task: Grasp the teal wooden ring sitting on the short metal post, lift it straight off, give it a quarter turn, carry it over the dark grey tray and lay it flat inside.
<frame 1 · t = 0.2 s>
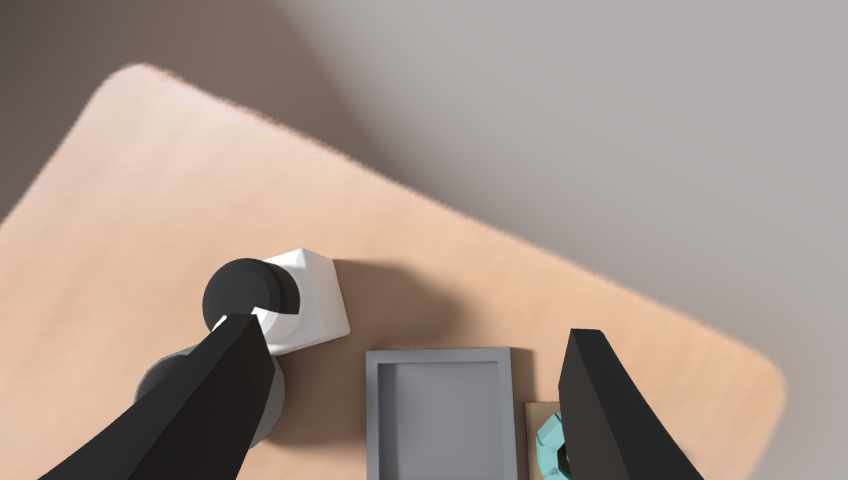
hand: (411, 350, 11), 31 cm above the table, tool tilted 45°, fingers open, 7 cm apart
tray: (441, 421, 40), on the table
medicine bottle: (306, 306, 44), on the table
cup: (253, 386, 43), on the table
ring: (572, 448, 38), point 1 cm above the table, touching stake
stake: (571, 446, 39), on the table
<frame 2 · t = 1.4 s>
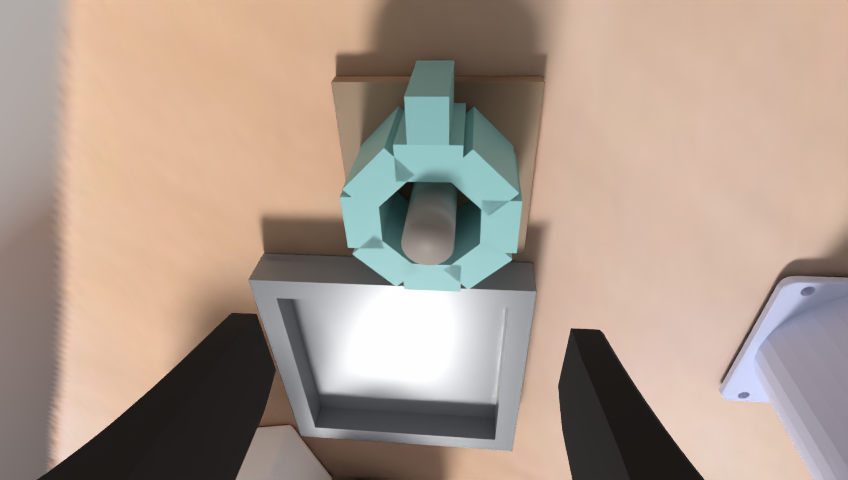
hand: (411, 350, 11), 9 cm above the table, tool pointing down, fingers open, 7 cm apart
tray: (402, 347, 25), on the table
medicine bottle: (269, 452, 33), on the table
ring: (437, 176, 18), point 1 cm above the table, touching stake
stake: (438, 168, 18), on the table
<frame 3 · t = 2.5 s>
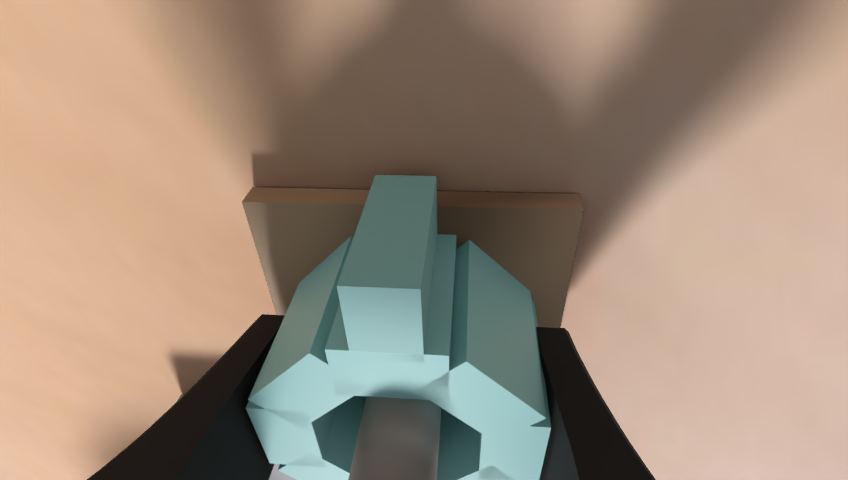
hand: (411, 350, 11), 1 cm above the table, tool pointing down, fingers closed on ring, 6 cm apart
ring: (414, 324, 12), point 1 cm above the table, touching gripper, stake
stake: (417, 307, 12), on the table
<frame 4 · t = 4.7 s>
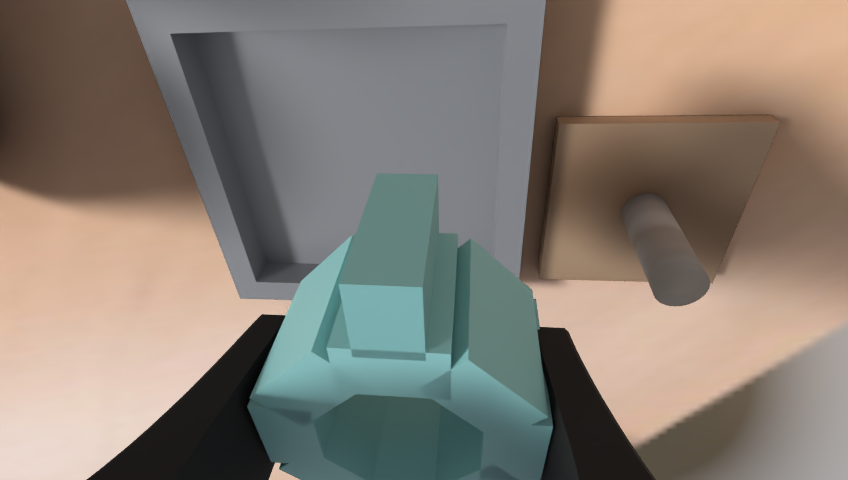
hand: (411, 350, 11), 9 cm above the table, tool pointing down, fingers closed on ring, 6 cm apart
tray: (365, 156, 18), on the table
ring: (416, 323, 12), point 8 cm above the table, touching gripper
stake: (639, 202, 18), on the table
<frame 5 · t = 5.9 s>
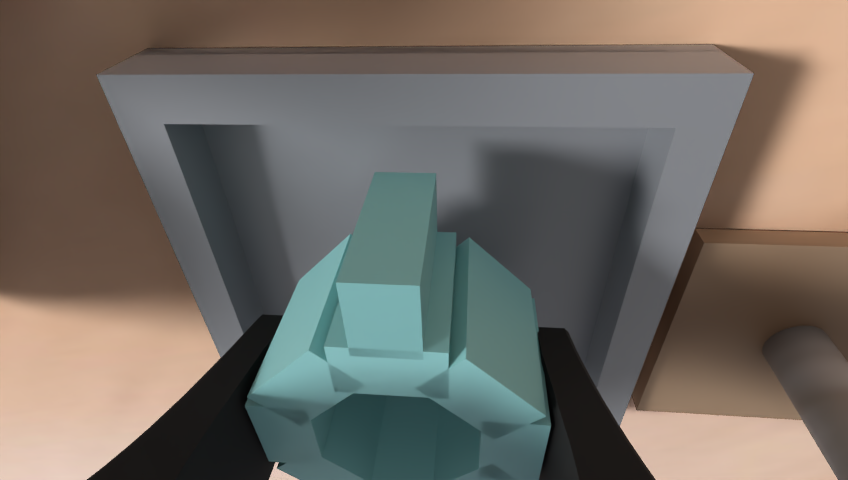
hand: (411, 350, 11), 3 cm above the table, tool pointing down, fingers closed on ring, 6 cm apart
tray: (423, 264, 14), on the table
ring: (414, 322, 12), point 2 cm above the table, touching gripper
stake: (783, 329, 14), on the table
when the fingers open (2 cm above the table, at t = 6.7 s): ring drops 1 cm, resting on tray.
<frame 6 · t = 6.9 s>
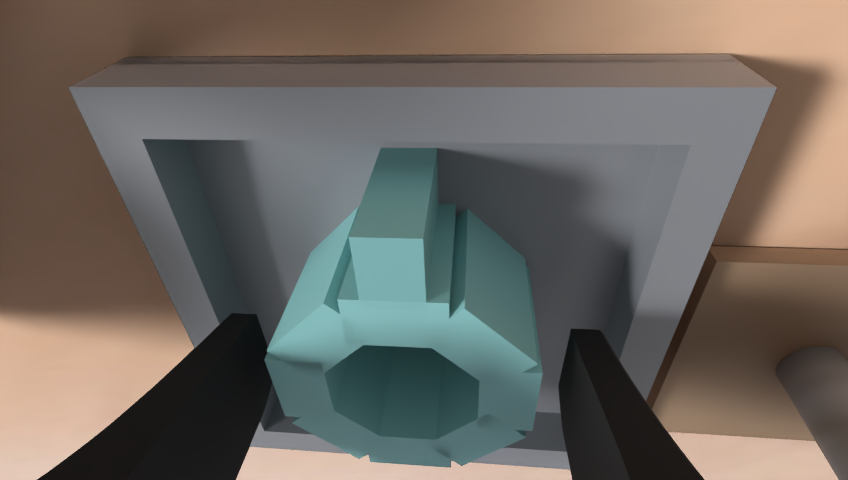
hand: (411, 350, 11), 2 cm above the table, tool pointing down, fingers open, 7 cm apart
tray: (421, 281, 13), on the table
ring: (417, 292, 13), resting on tray
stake: (797, 348, 13), on the table
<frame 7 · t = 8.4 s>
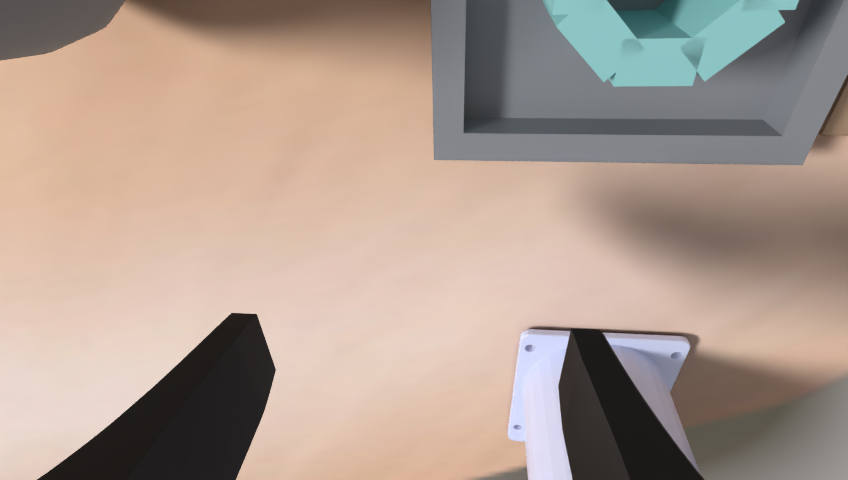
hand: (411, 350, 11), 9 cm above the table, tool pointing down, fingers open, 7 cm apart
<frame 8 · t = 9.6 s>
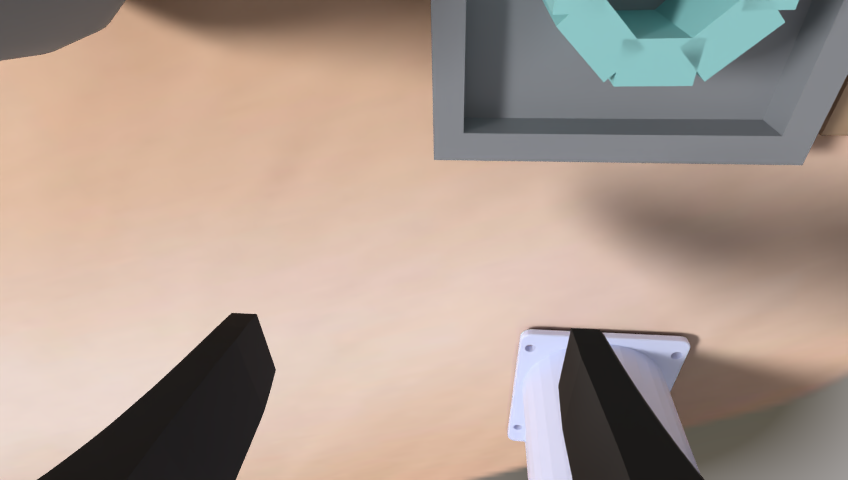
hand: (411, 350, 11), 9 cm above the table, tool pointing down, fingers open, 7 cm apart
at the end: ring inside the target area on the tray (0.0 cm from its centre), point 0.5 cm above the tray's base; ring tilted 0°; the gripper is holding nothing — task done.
